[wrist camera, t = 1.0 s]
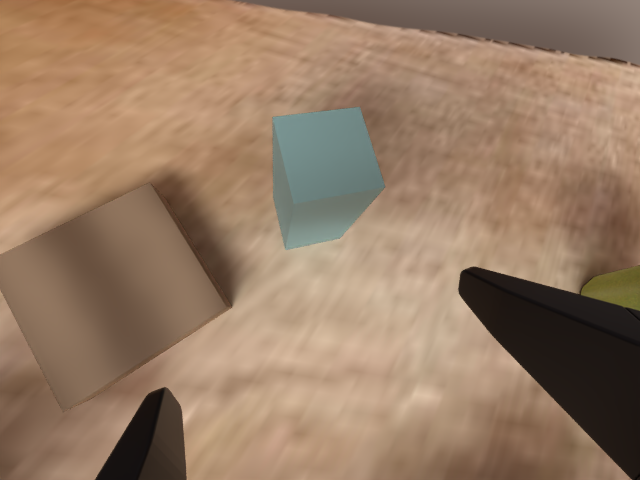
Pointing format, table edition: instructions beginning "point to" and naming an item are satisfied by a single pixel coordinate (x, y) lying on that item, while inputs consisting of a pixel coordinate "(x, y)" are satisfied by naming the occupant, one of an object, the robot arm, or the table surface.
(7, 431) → the table surface
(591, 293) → the plant pot
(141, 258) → the walnut block
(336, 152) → the teal block
